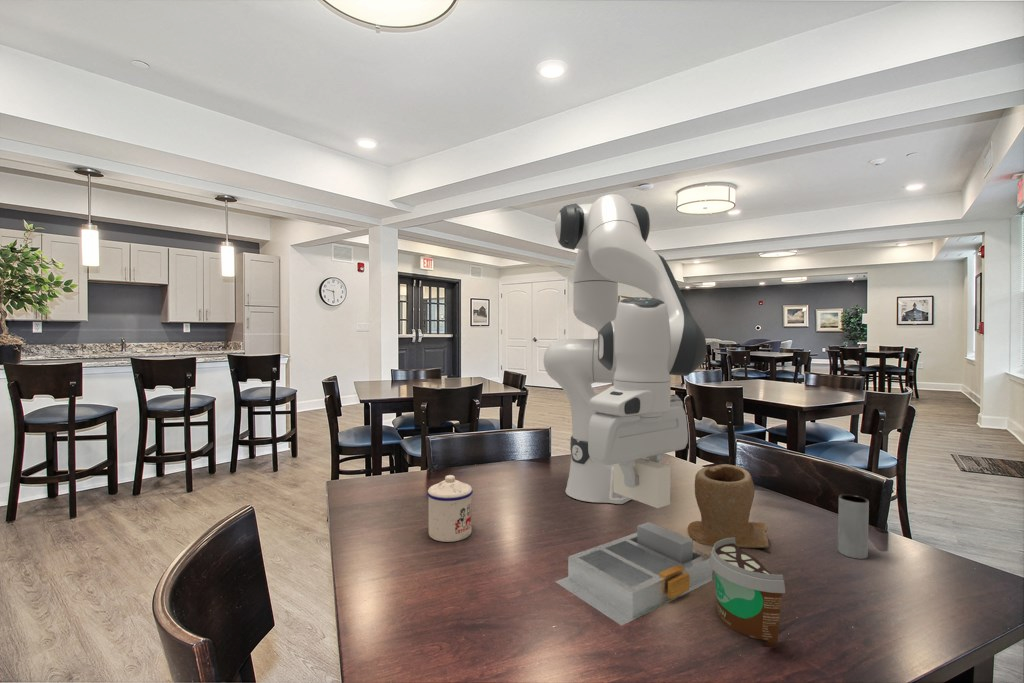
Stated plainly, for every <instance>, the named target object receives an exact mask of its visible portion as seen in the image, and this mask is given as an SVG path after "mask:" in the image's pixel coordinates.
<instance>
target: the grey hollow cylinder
mask: <svg viewBox="0 0 1024 683" xmlns="http://www.w3.org/2000/svg"><path fill="white" fill-rule="evenodd" d="M869 505H870V501H869V499H867V498H865V497H863V496H860V495H855V494H850V493H849V494H847V493H844V494H843V493H842V494H840V495H838V510H837V511H838V512H837V513H838V514H837V515H838V517H837V518H838V520H837V521H838V522H837V524H838V525H837V526H838V528H837V551H838V552H839V554H842V555H843V556H845V557H849V558H853V559H861V560H862V559H867V558H868V556H869V555H868V554H869V516H870V514H869V513H870V512H869V511H870V507H869Z"/></svg>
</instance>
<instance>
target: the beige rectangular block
mask: <svg viewBox="0 0 1024 683" xmlns="http://www.w3.org/2000/svg"><path fill="white" fill-rule="evenodd" d="M632 467H633V470H634V473H635V475H638V476H639V481H638V482H639V485H638V486H636V487H632V488H630V487H627V486H625V484H624V474H623V472H622V470H621V468H620V466H619V463H618V464H614V492H615V493H617V494H620V495H623V496H625V497H628V498H631V500H633V501H636V502H640V503H642V504H645V505H648V506H650V507H653V508H656V509H659V508H660V509H661V508H664V507H666V506H671V469H672V468H671V465H669V464H664V463H662V462H661V463H658V462H654V461H650V460H649V459H648V458H641V459H636V460H635V466H632Z"/></svg>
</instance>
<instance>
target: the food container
mask: <svg viewBox="0 0 1024 683" xmlns="http://www.w3.org/2000/svg"><path fill="white" fill-rule="evenodd" d="M709 556H710V559H709V564H710V566H711V568H712V570H713V571H714V572H715V579H714V584H715V595H716V596H715V597H716V612H717V613H716V614H717V615H718V618H719V619H720V621H721V622H722V623H723V624H724V625H726V626H727V627H728V628H730V629H732V630H734V631H735V632H737V633H739V634H742V635H743V636H747V637H750V638H753V639H757V640H763V641H766V642H765V643H763V644H762V645H761V646H762V647H763V648H769V647H770V649H771V648H778V642H779V633H780V632H779V630H780V620H781V618H780V617H781V606H782V597H783V596H782V595H783V594H786V585H785V580H784V575H783V574H773V573H771V572H770V571H769V570H768V569H767V568H766V567H765V566H764V565H763V564H762V563H761V562H760V561H759V559H757V558H756V557H755V556H753V555H751V554H749V553H747V552H746V551H745V550H743V549H742V548H739V547H738V546H737V545H736V544H735V538H726V539H722V540H720V541H718V542H716V543H715V545H714V546H712V549H711V552H710V555H709Z"/></svg>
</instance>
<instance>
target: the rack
mask: <svg viewBox="0 0 1024 683" xmlns="http://www.w3.org/2000/svg"><path fill="white" fill-rule="evenodd" d="M709 559H710V555H708V554H706V553H704V552H701V551H699V550H696V549H694V548H693V560H692V561H689V562H687V563H685V564H681V563H679V562H677V561H675V560H673V559H670V558H668V557H666V556H664V555H662V554H660V553H657V552H655V551H653V550H651V549H649V548H646V547H644V546H642V545H640V544H638V543H637V532H634V533H631V534H628V535H625V536H623V537H620V538H617V539H614V540H612V541H611V540H610V541H609V542H605V543H602V544H599V545H597V546H594V547H592V548H588V549H586V550H583V551H582V550H581V551H580V552H577V553H574V554H571V555H569V556H568V558H567V560H568V562H567V566H568V568H567V574H568V575H567V576H566V577H564V578H561V579H558V580H555V583H556V584H558V585H559V586H561V587H562V588H563V589H565V590H567V591H568V592H570V593H572V594H573V595H575V597H577V598H579V599H580V600H582V601H583V602H584V603H587V604H588V605H590V606H591V607H593V608H594V609H595V610H597V611H598V612H600V613H602V614H603V615H604V616H606V617H608V618H609V619H610V620H612V621H614V623H617V624H618V625H619V626H622V627H623V626H624V625H626V624H628V623H630V622H632V621H634V620H636V619H638V618H640V617H642V616H643V615H646V614H649V613H650V612H652V611H654V610H656V609H658V608H660V607H662V606H664V605H666V604H668V603H670V602H672V601H674V600H676V599H678V598H680V597H682V596H685V595H686V594H689V593H691V592H693V591H694V590H696V589H698V588H700V587H701V586H704V585H707V584H708V583H710V582H712V581H715V572H714V570H713V569H712V568H711V566H710V564H709Z"/></svg>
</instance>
